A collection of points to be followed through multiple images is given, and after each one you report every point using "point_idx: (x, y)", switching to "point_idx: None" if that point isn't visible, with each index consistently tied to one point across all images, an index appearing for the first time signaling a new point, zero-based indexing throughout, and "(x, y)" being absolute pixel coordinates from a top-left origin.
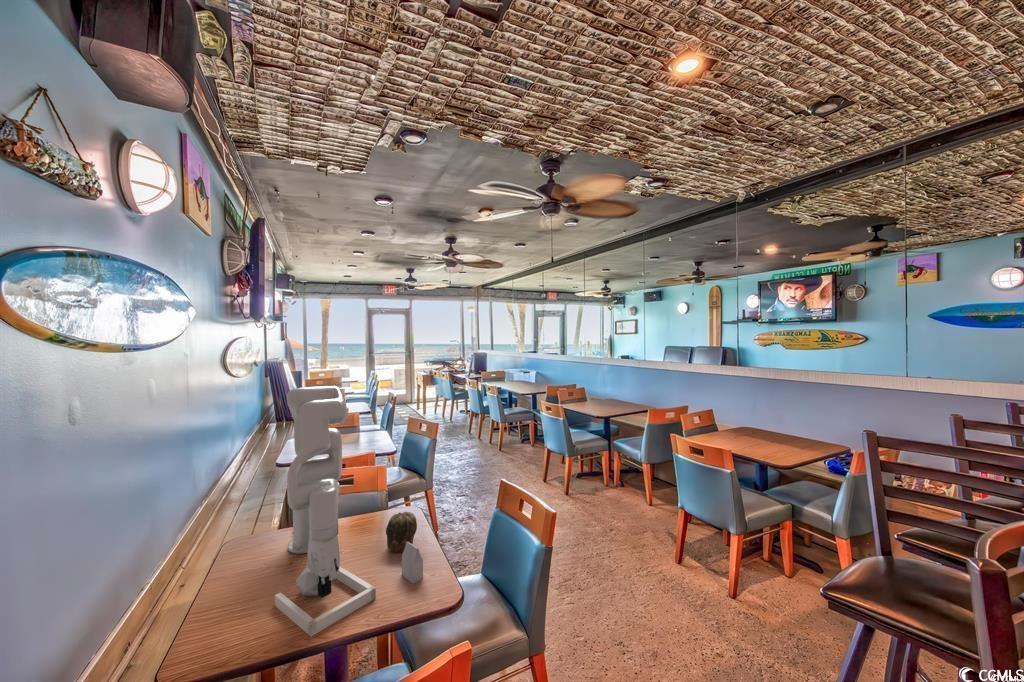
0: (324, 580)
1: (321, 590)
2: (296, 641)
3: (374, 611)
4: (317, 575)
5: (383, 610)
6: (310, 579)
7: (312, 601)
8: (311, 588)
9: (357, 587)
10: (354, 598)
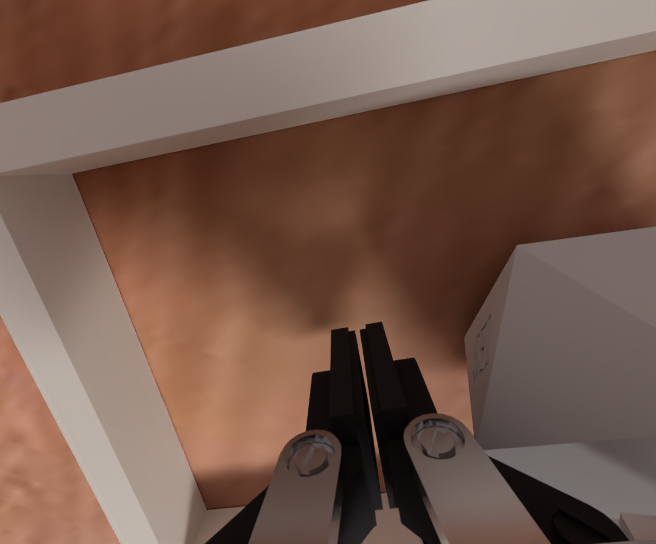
0: (270, 504)
1: (330, 373)
2: (10, 25)
3: (74, 488)
4: (472, 497)
5: (58, 517)
6: (596, 364)
7: (442, 273)
8: (498, 313)
9: None
10: (113, 494)
